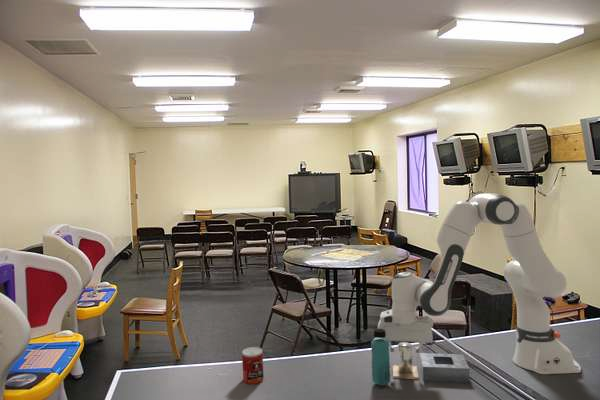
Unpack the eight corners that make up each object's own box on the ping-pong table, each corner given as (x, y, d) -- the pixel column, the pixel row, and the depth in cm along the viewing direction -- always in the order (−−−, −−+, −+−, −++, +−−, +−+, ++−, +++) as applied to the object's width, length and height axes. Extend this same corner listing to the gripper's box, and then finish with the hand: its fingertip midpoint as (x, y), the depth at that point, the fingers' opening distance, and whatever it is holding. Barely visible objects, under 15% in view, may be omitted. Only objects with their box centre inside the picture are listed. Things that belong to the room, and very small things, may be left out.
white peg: (412, 368, 165) (411, 342, 164) (413, 374, 160) (412, 348, 159) (398, 367, 166) (397, 342, 165) (398, 373, 160) (398, 347, 160)
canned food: (247, 386, 156) (246, 357, 156) (240, 377, 164) (238, 349, 163) (267, 381, 160) (265, 352, 159) (259, 373, 167) (257, 345, 166)
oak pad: (416, 368, 166) (416, 366, 166) (418, 379, 157) (418, 377, 157) (392, 367, 168) (392, 365, 168) (393, 378, 159) (393, 375, 159)
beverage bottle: (386, 390, 150) (385, 334, 149) (368, 386, 153) (367, 331, 152) (393, 382, 155) (392, 328, 154) (375, 378, 159) (374, 325, 158)
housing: (463, 367, 166) (462, 354, 165) (469, 382, 154) (469, 368, 154) (419, 365, 168) (419, 353, 168) (423, 380, 157) (422, 366, 156)
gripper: (431, 313, 163) (432, 349, 163) (376, 312, 166) (377, 347, 167) (434, 319, 156) (434, 356, 157) (376, 318, 160) (377, 354, 161)
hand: (404, 352), depth 162 cm, fingers open, 8 cm apart
